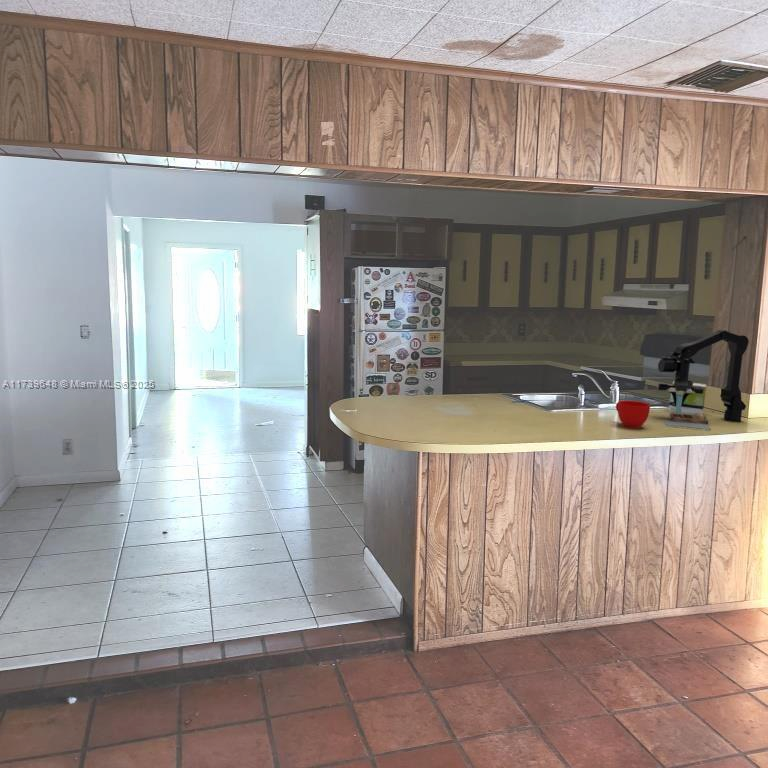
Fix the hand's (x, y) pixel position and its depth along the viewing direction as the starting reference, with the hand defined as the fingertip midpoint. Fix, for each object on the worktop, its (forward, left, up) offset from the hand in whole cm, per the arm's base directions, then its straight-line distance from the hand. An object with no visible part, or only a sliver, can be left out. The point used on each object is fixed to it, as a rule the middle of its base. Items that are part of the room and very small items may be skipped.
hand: (678, 406), depth 305 cm
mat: (-3, +13, -6) cm, 15 cm away
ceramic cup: (+21, +24, -6) cm, 32 cm away
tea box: (-5, -21, -6) cm, 23 cm away
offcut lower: (-9, 0, -6) cm, 10 cm away
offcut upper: (-9, 0, -4) cm, 10 cm away
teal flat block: (0, 0, -2) cm, 2 cm away
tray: (-4, 0, -6) cm, 8 cm away
